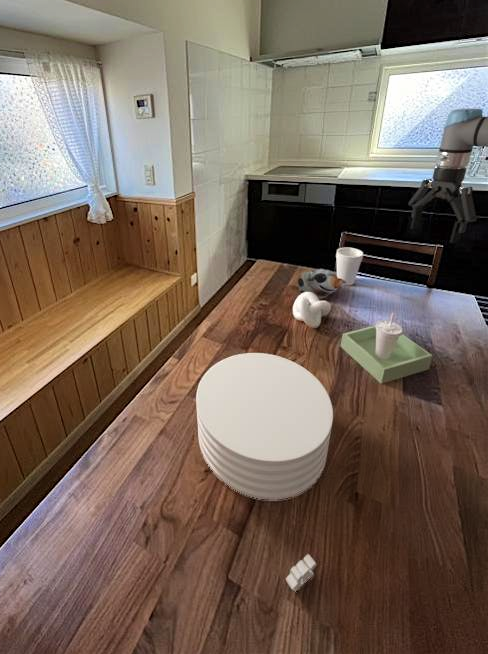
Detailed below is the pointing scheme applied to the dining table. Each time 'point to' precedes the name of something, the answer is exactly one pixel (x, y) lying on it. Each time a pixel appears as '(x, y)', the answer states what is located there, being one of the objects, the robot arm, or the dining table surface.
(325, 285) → the grey animal head
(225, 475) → the plate stack
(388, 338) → the smoothie
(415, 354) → the bin
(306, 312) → the white puffy blob
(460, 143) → the robot arm
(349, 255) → the foam cup
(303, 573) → the white stepped block
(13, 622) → the dining table surface
